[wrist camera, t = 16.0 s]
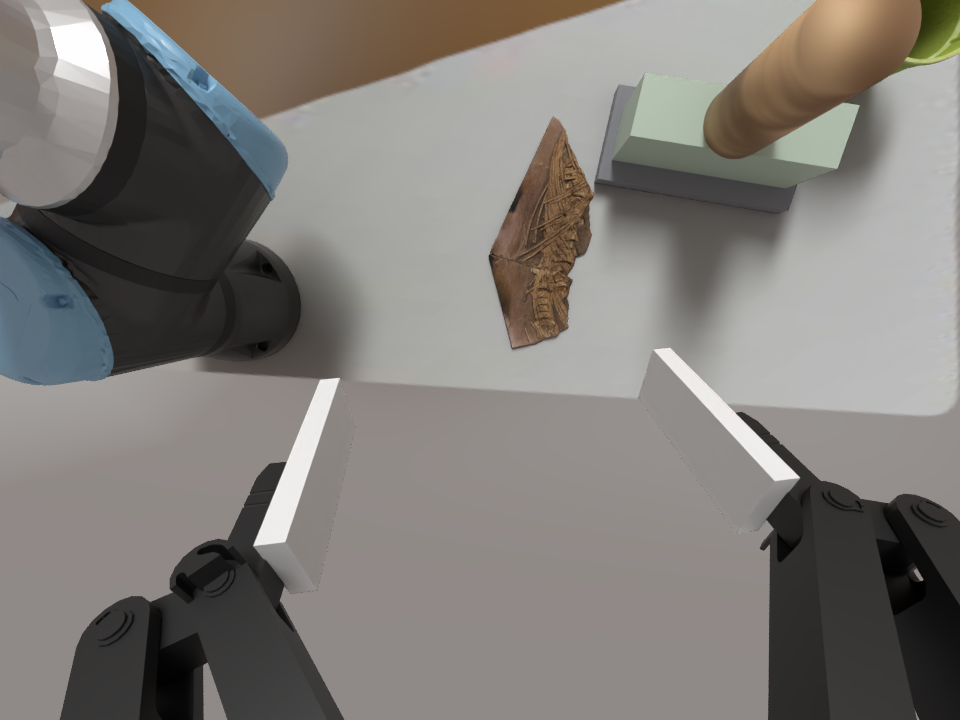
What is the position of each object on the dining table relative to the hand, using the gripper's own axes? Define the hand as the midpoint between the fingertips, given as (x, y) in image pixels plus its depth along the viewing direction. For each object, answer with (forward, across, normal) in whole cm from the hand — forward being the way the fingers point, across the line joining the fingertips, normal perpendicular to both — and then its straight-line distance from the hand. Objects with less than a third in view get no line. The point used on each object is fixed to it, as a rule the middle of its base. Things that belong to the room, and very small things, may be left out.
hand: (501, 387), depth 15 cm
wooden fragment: (+29, +9, -3) cm, 31 cm away
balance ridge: (+29, +26, +5) cm, 40 cm away
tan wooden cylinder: (+23, +25, +8) cm, 34 cm away
